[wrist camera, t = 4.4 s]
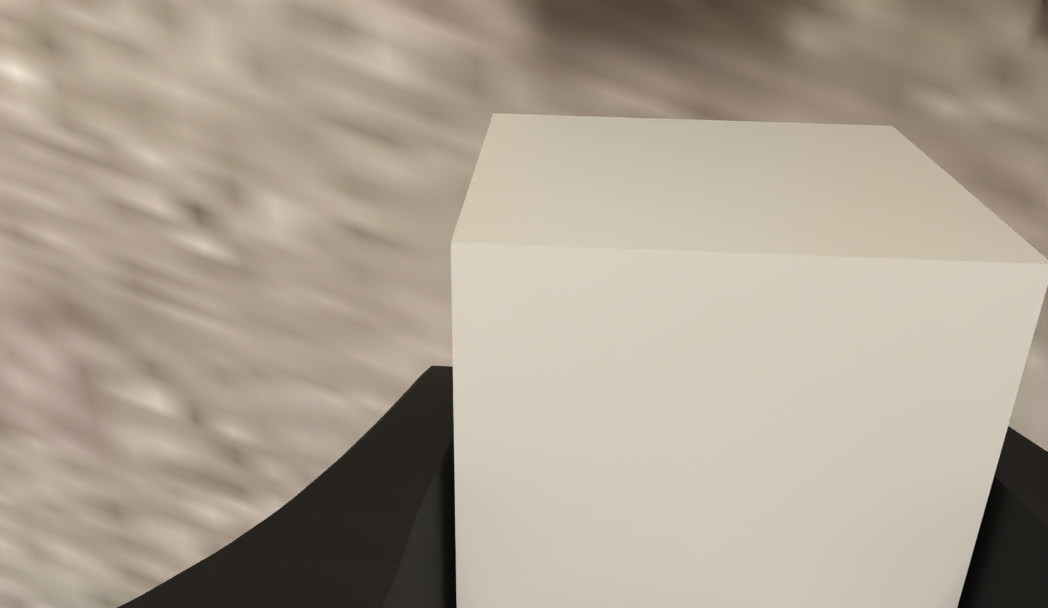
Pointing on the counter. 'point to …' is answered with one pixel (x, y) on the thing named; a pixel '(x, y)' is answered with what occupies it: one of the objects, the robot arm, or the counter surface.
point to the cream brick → (726, 366)
